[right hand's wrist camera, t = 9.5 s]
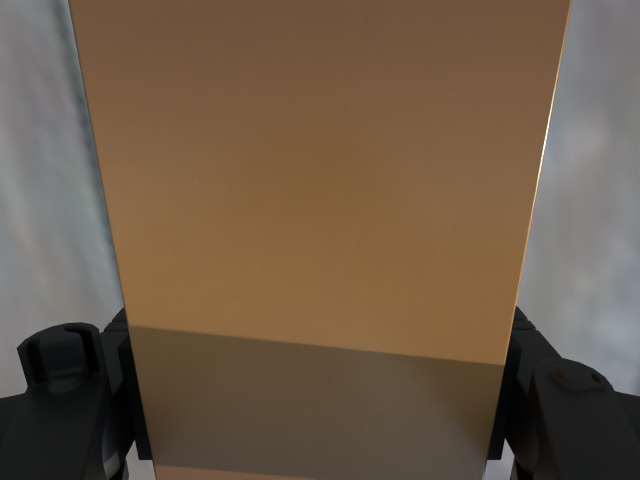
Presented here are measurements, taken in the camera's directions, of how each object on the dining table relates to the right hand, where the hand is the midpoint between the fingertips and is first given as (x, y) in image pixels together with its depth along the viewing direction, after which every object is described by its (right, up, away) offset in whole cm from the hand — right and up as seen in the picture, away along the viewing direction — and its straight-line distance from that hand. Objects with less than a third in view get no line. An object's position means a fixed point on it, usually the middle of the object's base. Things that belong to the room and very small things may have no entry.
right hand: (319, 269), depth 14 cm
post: (0, +23, -8) cm, 24 cm away
